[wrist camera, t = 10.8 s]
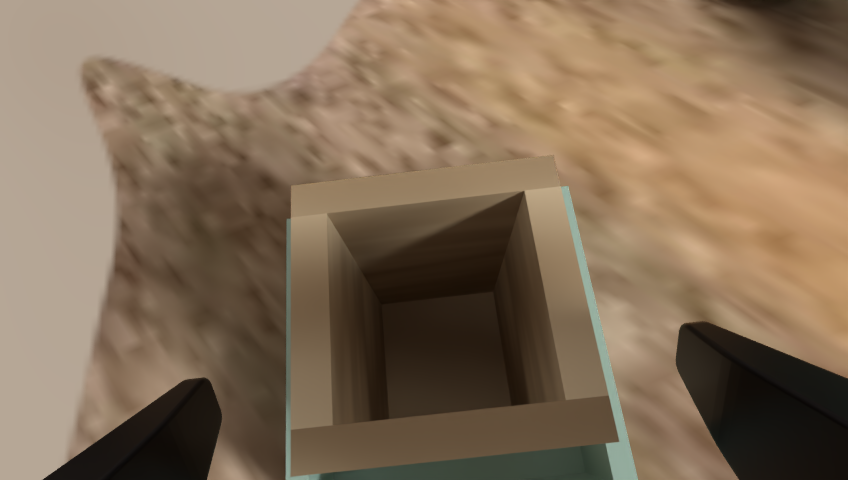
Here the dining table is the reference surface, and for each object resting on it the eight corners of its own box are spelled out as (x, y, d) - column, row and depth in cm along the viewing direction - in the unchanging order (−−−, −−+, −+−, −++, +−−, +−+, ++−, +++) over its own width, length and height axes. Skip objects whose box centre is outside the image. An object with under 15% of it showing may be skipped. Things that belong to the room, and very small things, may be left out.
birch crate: (534, 432, 17) (619, 441, 9) (372, 449, 18) (290, 476, 9) (508, 275, 20) (553, 154, 11) (363, 292, 20) (290, 186, 11)
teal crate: (603, 489, 17) (644, 508, 14) (321, 519, 18) (285, 545, 14) (547, 228, 21) (568, 186, 17) (315, 254, 21) (286, 218, 18)
